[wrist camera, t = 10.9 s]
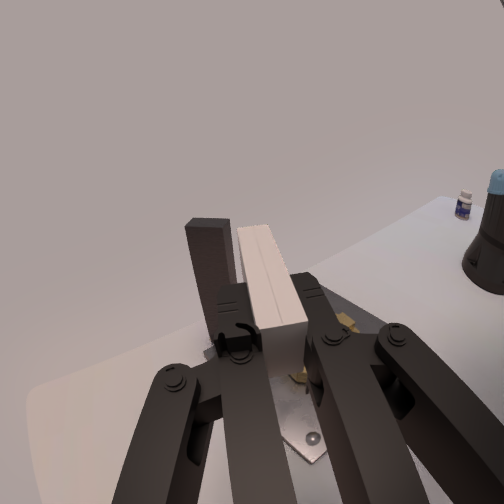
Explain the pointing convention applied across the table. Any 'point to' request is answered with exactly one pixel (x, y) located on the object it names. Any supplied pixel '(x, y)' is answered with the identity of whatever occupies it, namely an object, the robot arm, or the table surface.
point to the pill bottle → (464, 205)
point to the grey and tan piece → (221, 270)
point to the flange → (298, 402)
